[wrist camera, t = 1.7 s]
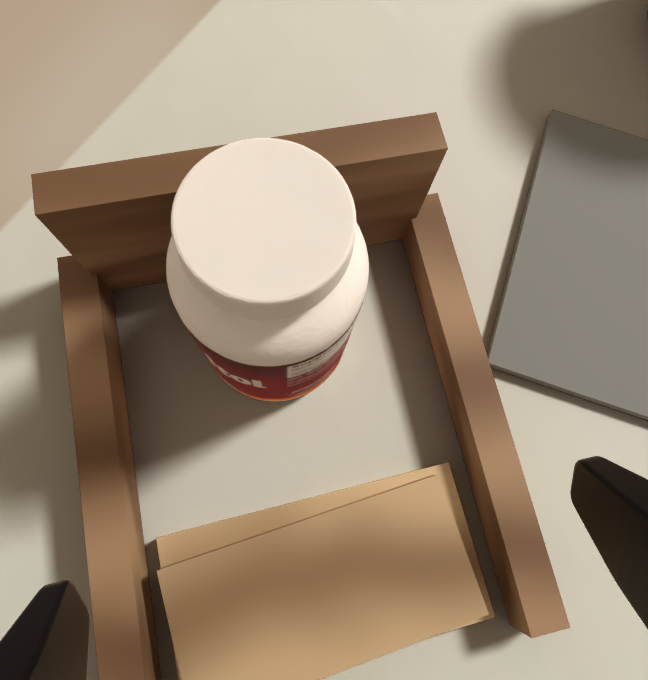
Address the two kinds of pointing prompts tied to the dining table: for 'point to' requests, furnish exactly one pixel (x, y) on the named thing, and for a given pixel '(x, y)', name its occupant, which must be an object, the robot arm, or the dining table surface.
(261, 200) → the pill bottle
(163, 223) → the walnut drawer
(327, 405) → the dining table surface
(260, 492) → the dining table surface
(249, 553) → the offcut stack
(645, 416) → the slate mat
